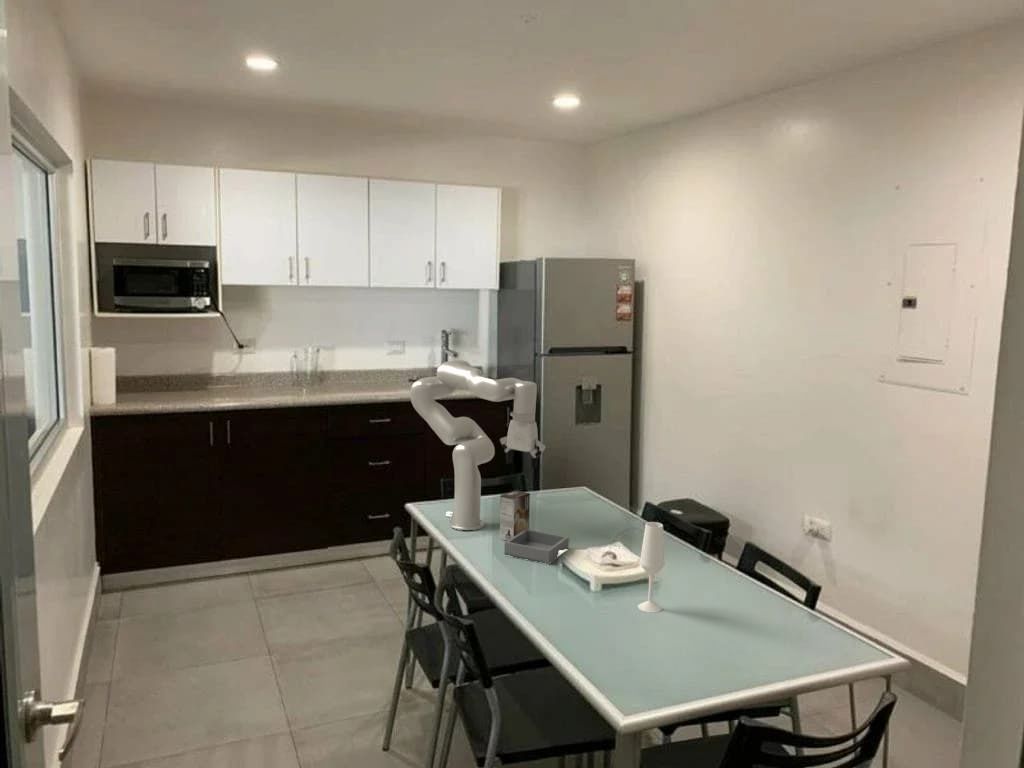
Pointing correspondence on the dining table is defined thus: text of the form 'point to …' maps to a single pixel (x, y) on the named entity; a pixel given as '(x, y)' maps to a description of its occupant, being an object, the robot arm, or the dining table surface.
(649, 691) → the dining table surface
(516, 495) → the coffee box
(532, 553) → the box
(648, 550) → the champagne flute
